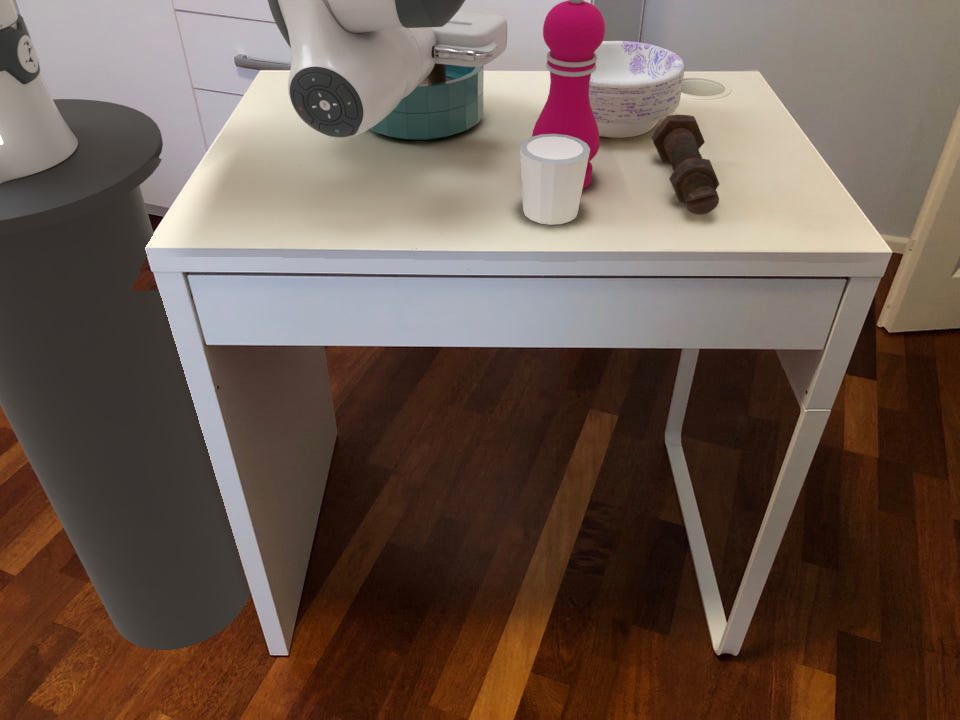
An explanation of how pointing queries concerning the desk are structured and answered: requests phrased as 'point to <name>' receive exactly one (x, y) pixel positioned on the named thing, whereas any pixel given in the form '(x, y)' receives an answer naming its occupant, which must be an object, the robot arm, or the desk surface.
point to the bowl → (438, 107)
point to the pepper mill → (572, 73)
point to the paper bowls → (633, 87)
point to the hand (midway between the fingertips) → (437, 11)
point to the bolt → (687, 163)
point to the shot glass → (552, 177)
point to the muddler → (437, 75)
